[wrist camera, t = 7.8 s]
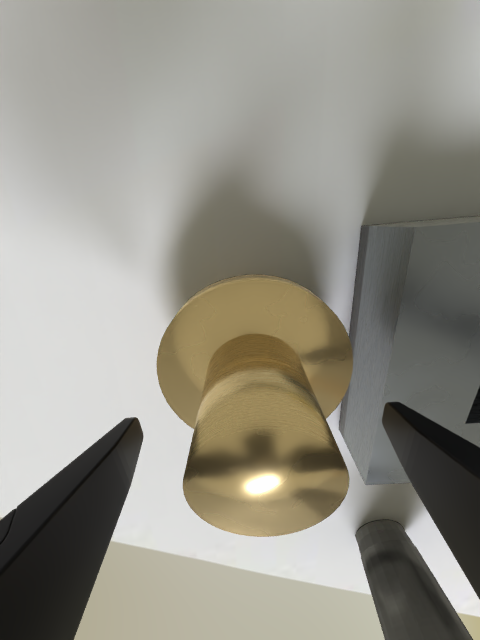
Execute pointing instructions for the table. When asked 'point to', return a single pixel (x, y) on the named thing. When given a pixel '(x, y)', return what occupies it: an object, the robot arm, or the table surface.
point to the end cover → (258, 403)
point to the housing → (413, 336)
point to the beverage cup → (405, 587)
